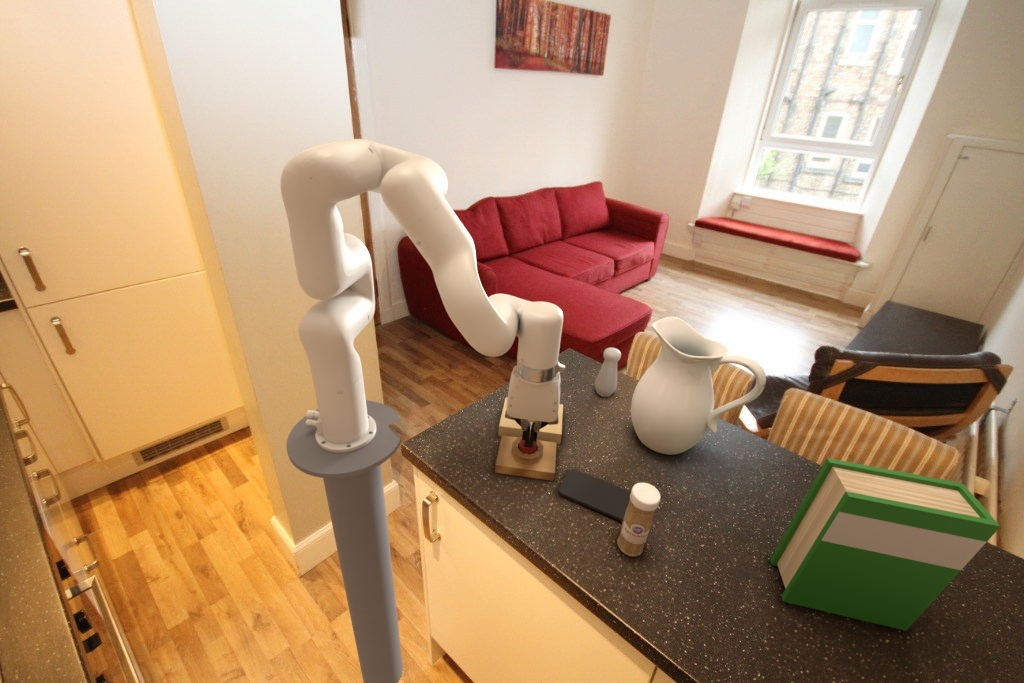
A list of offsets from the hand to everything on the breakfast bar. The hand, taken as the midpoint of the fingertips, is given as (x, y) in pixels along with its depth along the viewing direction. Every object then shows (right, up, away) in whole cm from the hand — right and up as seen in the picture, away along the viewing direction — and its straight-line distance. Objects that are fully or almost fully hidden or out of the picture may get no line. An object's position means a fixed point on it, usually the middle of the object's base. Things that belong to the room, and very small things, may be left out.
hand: (529, 442), depth 92 cm
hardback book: (+49, -21, -19) cm, 56 cm away
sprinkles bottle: (+17, -15, -14) cm, 27 cm away
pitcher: (+33, -3, +10) cm, 35 cm away
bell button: (0, -2, +1) cm, 2 cm away
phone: (+13, -10, -5) cm, 17 cm away
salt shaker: (+21, +7, +26) cm, 34 cm away
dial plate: (+1, +1, +13) cm, 13 cm away
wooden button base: (-1, -5, +3) cm, 5 cm away
